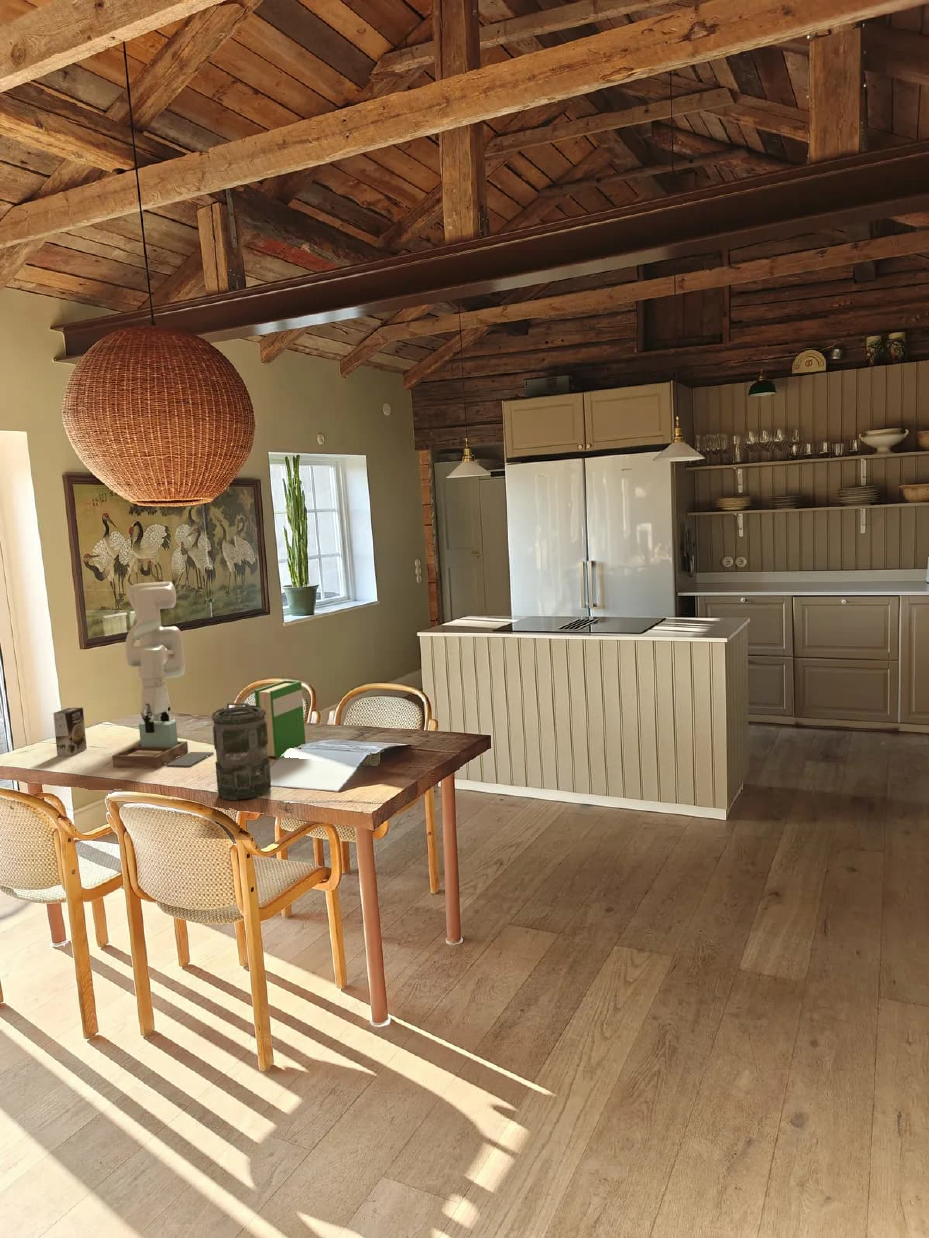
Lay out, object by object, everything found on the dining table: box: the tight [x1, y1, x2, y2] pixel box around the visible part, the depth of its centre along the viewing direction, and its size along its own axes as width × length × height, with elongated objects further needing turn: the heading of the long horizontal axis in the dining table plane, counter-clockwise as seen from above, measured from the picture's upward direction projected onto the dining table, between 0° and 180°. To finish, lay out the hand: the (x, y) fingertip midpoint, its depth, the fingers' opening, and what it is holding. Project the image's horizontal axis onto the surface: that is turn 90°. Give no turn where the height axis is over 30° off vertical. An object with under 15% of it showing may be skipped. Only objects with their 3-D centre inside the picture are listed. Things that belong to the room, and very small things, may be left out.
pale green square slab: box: [138, 721, 179, 747], centre depth 311 cm, size 4×12×12 cm, turn 77°
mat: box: [165, 751, 214, 768], centre depth 304 cm, size 16×9×1 cm, turn 167°
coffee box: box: [52, 707, 87, 757], centre depth 320 cm, size 9×6×16 cm
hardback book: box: [254, 679, 306, 759], centre depth 308 cm, size 18×7×24 cm, turn 157°
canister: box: [211, 702, 272, 801], centre depth 263 cm, size 16×16×28 cm
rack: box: [111, 740, 189, 770], centre depth 306 cm, size 20×17×4 cm
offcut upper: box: [127, 750, 162, 756], centre depth 303 cm, size 6×10×2 cm, turn 74°
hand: (158, 729), depth 310 cm, fingers open, 9 cm apart
